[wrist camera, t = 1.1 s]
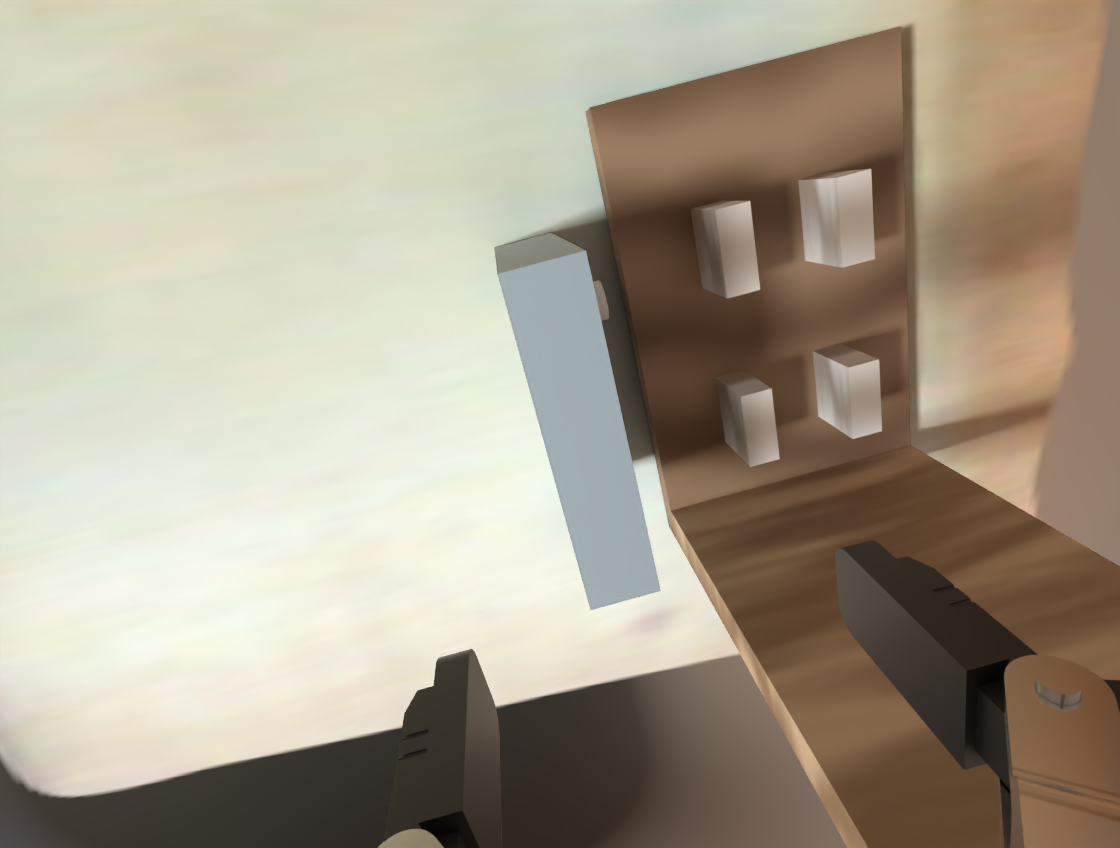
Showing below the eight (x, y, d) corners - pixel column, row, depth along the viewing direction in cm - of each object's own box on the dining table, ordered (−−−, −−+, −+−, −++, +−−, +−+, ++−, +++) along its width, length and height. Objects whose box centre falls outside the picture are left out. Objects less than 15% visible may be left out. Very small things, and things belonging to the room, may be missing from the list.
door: (494, 247, 31) (497, 274, 19) (565, 228, 31) (609, 244, 19) (558, 482, 36) (590, 609, 24) (619, 465, 36) (679, 585, 25)
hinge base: (585, 112, 29) (893, -175, 7) (881, 34, 29) (2088, -479, 7) (669, 525, 37) (921, 979, 16) (895, 463, 38) (1454, 825, 16)
